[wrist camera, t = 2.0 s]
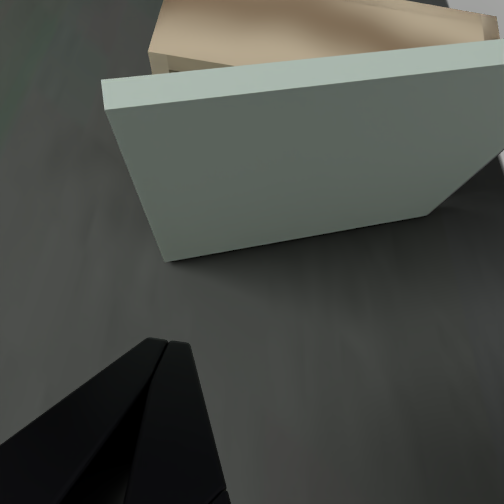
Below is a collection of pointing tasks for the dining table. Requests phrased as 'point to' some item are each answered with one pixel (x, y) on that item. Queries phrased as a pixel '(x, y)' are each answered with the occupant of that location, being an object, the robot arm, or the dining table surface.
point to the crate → (301, 30)
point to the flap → (306, 142)
